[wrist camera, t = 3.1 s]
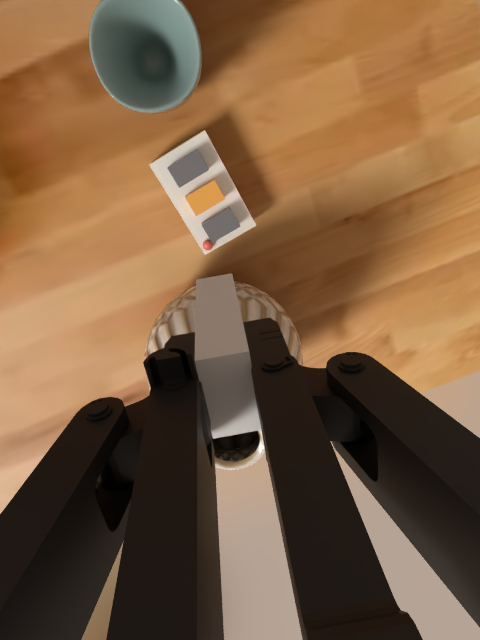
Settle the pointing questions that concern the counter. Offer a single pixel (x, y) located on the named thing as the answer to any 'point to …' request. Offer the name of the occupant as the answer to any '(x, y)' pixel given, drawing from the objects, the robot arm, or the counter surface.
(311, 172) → the counter surface
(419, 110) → the counter surface
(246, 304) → the vase
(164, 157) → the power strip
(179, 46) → the cup
